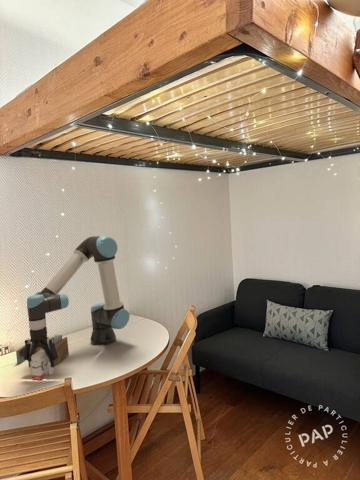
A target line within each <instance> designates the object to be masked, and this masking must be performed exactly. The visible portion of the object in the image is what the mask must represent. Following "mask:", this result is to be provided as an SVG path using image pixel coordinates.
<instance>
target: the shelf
mask: <svg viewBox="0 0 360 480" xmlns="http://www.w3.org/2000/svg"><path fill="white" fill-rule="evenodd" d="M68 341H69V340H68V337H67V336H65V337H62V340H61V341H59V342H58V343H57V344H56V345H55V348H56V352H57V355H58V358H56V359H55V360H54V361H55V365H54V366H58V365H59V364H60V363H61V362H62V361H63V360H65V359H66V358H67V357H68V356H69V355H70V353H69V342H68ZM32 345H33V344H32V343H31V344H30V352H31V349H32ZM38 351H40V347H37V348H36V351H35V353H36V352H38Z"/></svg>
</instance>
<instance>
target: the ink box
mask: <svg viewBox="0 0 360 480" xmlns="http://www.w3.org/2000/svg"><path fill="white" fill-rule="evenodd" d="M31 361H32V375H31V376H32V381H39V382H40V381H43V380H44V377H45V376H46V375H49V365H48V361H50V360H49V358H48V357H47V355H46V353H45V351H44V349H41V350H40V351H38V352H36V353H35V354H33V355H32V356H31Z"/></svg>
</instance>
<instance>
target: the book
mask: <svg viewBox="0 0 360 480" xmlns="http://www.w3.org/2000/svg"><path fill="white" fill-rule="evenodd" d="M51 337H52V338H54V345H56V344H57V343H58V342H59V341H61V340H62V339H63V334H55V335H54V336H51ZM52 338H51V339H52ZM47 344H48V347H49V343H48V341H47ZM49 349H50V347H49ZM50 351H51V350H50ZM54 364H55V361H54Z"/></svg>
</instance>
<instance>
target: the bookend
mask: <svg viewBox="0 0 360 480" xmlns="http://www.w3.org/2000/svg"><path fill="white" fill-rule="evenodd" d="M15 352H16V353H15V354H16V364H17V365H21V364H22V363H24V362H26V360H24V354H25V344H24V345H23V346H22V347H20V348H19V349H17V350H16V351H15ZM29 355H30V354H29Z"/></svg>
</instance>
